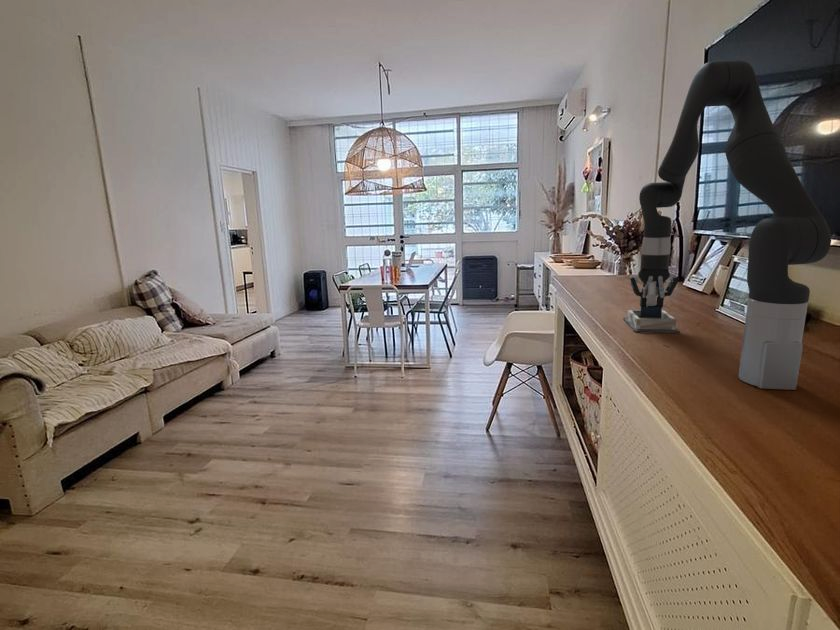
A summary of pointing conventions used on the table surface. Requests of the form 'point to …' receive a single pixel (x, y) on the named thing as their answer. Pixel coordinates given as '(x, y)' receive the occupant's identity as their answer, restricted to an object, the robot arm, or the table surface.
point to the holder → (651, 322)
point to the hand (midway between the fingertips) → (651, 309)
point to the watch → (651, 303)
